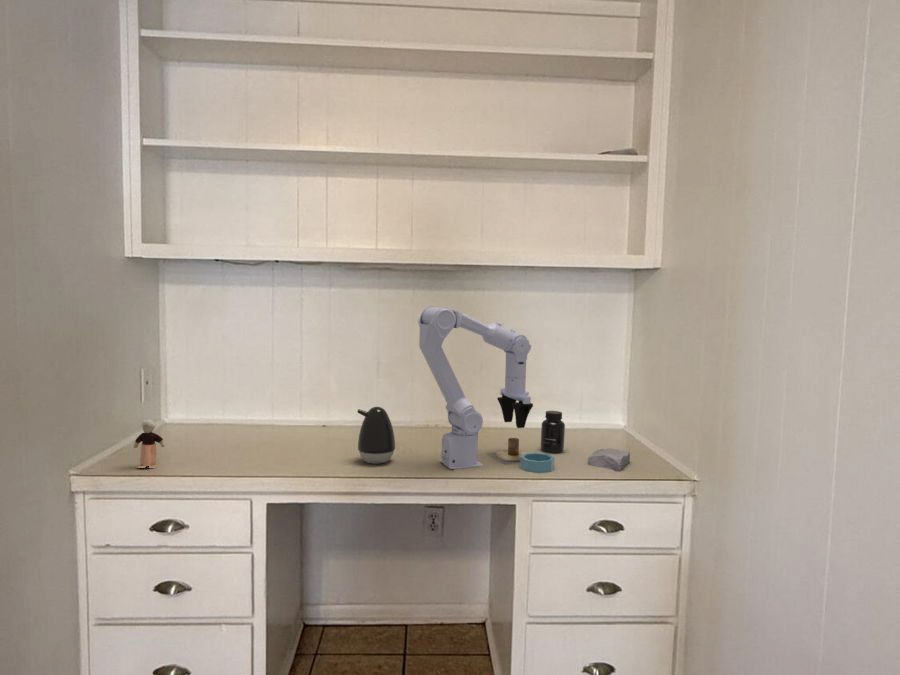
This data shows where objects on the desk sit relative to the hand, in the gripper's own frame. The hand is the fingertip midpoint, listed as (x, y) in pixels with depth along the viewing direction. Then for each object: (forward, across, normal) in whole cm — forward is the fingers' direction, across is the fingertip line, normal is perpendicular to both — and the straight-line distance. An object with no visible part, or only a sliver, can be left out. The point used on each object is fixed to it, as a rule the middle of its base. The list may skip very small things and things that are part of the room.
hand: (514, 424), depth 174 cm
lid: (+9, 0, 0) cm, 9 cm away
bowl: (+10, -11, -2) cm, 15 cm away
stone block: (+10, -13, -23) cm, 28 cm away
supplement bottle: (+10, +3, -14) cm, 18 cm away
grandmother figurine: (+10, +21, +94) cm, 97 cm away
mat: (+10, 0, 0) cm, 10 cm away
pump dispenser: (+10, +9, +38) cm, 40 cm away
